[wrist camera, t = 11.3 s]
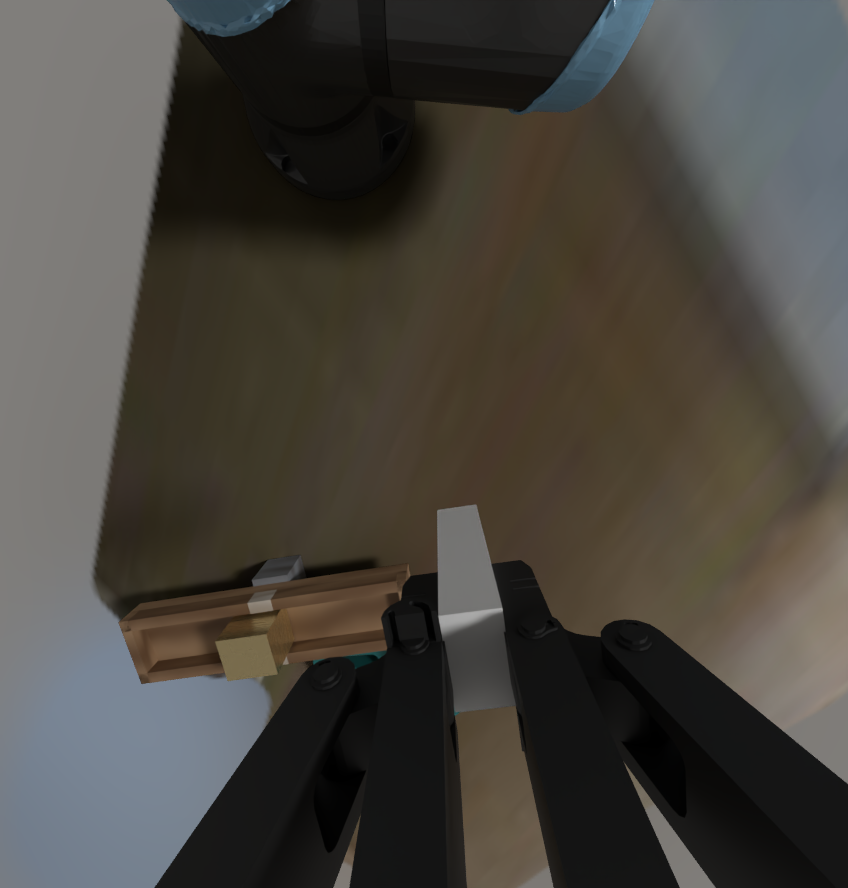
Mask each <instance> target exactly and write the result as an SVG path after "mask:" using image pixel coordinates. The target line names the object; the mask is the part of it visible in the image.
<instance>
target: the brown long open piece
mask: <svg viewBox="0 0 848 888" xmlns="http://www.w3.org/2000/svg"><path fill="white" fill-rule="evenodd" d="M409 577H410V571H409V566H408V563H405V564H399V565H392V566H386V567H379V568H372V569H366V570H359V571H352V572H346V573H339V574H332V575H326V576H319V577H313V578H306V574H305V570H304V566H303V563H302V559H301V555H296V556H290V557H283V558H277V559H270V560H267V561H266V563H265V564H264V565H263V567H262V568H261V569H260V570H259V572H258V573H257V574H256V575H255V577H254V578H253V579H252V583H253V587H246V588H240V589H233V590H226V591H220V592H213V593H206V594H200V595H193V596H187V597H180V598H173V599H167V600H160V601H153V602H147V603H140V604H139V605H138V606H137V607H136V608H134V609H133V610H132V611H131V612H130V613H129V614H127V615H126V616H125V617H124V618H123V619H122V620H121V621H119V625H120V628H121V630H122V633H123V636H124V638H125V641H126V644H127V646H128V649H129V652H130V654H131V657H132V660H133V662H134V665H135V668H136V670H137V673H138V675H139V678H140V681H141V684H145V683H152V682H159V681H167V680H174V679H181V678H188V677H196V676H203V675H210V674H218V673H225V671H224V668H223V665H222V662H221V658H220V655H219V652H218V649H217V646H216V643H215V641H216V640H217V638H218V637H219V636H220V634H221V633H222V632H223V630H224V629H225V628H226V626H227V625H228V624H229V622H230V621H231V620H232V618H233V617H234V616H238V615H245V614H254V613H261V612H268V611H273V610H279V609H287V613H288V617H289V620H290V624H291V627H292V631H293V635H294V638H295V640H294V642H293V644H292V646H291V648H290V650H289V652H288V654H287V656H286V658H285V661H284V663H283V665H285V664H290V663H297V662H305V661H312V660H319V659H326V658H330V657H341V656H348V655H355V654H363V653H370V652H377V651H384V650H387V645H386V640H385V636H384V631H383V626H382V621H381V617H382V614H383V612H384V611H385V610H386V609H387V608H388V607H389V606H390V605H392V604H394V603H396V602H398V601H400V600H401V594H402V587H403V585H404V583H405V582H406V581H407V580H408V578H409Z"/></svg>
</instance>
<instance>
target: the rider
mask: <svg viewBox="0 0 848 888" xmlns="http://www.w3.org/2000/svg"><path fill="white" fill-rule="evenodd" d="M294 640H295V638H294V635H293V631H292V627H291V624H290V620H289V617H288V613H287V609H279V610H273V611H268V612H261V613H254V614H245V615H238V616H234V617H233V618H232V620H231V621H230V622H229V624H228V625H227V626H226V628H225V629H224V630H223V632H222V633H221V634H220V636H219V637H218V638H217V640H216V641H215V643H216V646H217V649H218V652H219V655H220V658H221V662H222V665H223V668H224V671H225V674H226V677H227V680H228V681H231V680H239V679H247V678H254V677H261V676H268V675H276V674H278V673H279V671H280V669H281V667H282V665H283V663H284V661H285V658H286V656H287V654H288V652H289V650H290V648H291V646H292V644H293V642H294Z"/></svg>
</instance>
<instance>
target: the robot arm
mask: <svg viewBox="0 0 848 888" xmlns="http://www.w3.org/2000/svg"><path fill="white" fill-rule="evenodd" d="M167 1H168V2H169V3H170V4H171V5H172V6H173V8H174V10H175V11H176V13H177V14H178V15H179V16H180V17H181V18H182V19H183V20H184V21H185V22H186V24H187V25H188V26H189V27H190V29H191V30H192V31H193V32H194V34H195V35H196V36H197V37H198V39H199V40H200V41H201V42H202V44H203V45H204V46H205V47H206V49H207V50H208V51H209V52H210V54H211V55H212V56H213V57H214V59H215V60H216V61H217V62H218V64H219V65H220V66H221V67H222V69H223V70H224V71H225V72H226V74H227V75H228V76H229V77H230V79H231V80H232V81H233V82H234V84H235V85H236V86H237V87H238V89H239V90H240V91H241V92H242V94H243V99H244V103H245V108H246V113H247V117H248V121H249V124H250V127H251V130H252V132H253V134H254V137H255V139H256V141H257V143H258V145H259V146H260V148H261V150H262V151H263V153H264V154H265V156H266V157H267V159H268V160H269V161H270V162H271V163H272V165H273V166H274V167H275V168H276V169H277V170H278V171H279V173H280V174H281V175H282V176H283V177H284V178H285V179H286V180H288V181H289V182H290V183H291V184H293V185H294V186H295V187H297V188H299V189H300V190H302V191H304V192H306V193H308V194H311V195H313V196H316V197H320V198H325V199H334V200H340V199H349V198H354V197H358V196H360V195H363V194H365V193H368V192H370V191H371V190H373V189H375V188H376V187H378V186H379V185H381V184H382V183H383V182H384V181H385V180H386V179H388V178H389V176H390V175H391V174H392V173H393V172H394V171H395V170H396V168H397V167H398V165H399V164H400V162H401V161H402V159H403V157H404V155H405V153H406V151H407V149H408V146H409V143H410V140H411V137H412V133H413V128H414V121H415V100H418V101H429V102H440V103H451V104H462V105H473V106H484V107H495V108H506V109H509V111H510V112H511V113H513V114H518V115H522V114H525V113H530V112H532V111H539V112H569V111H572V110H574V109H576V108H578V107H581V106H582V105H584V104H586V103H588V102H589V101H591V100H592V99H593V98H594V97H595V96H596V95H597V94H598V93H599V92H600V91H601V90H602V89H603V88H604V87H605V85H606V84H607V83H608V82H609V80H610V79H611V78H612V76H613V75H614V74H615V72H616V71H617V69H618V68H619V66H620V65H621V63H622V61H623V60H624V58H625V56H626V55H627V53H628V51H629V50H630V48H631V46H632V44H633V42H634V41H635V39H636V37H637V35H638V33H639V31H640V29H641V27H642V25H643V23H644V21H645V19H646V17H647V15H648V13H649V11H650V9H651V7H652V5H653V3H654V0H167ZM437 528H438V572H437V573H429V574H422V575H414V576H410V577H409V578H408V580H407V581H406V582H405V583H404V585H403V587H402V594H401V600H400V601H398V602H396V603H394V604H392V605H390V606H389V607H388V608H387V609H386V610H385V611H384V612H383V614H382V617H381V621H382V626H383V631H384V636H385V640H386V645H387V652H386V654H385V655H384V656H382V657H381V658H379V659H378V660H376V661H373V662H371V663H369V664H366V665H364V666H361V667H358V668H356V669H355V666H354V663H353V662H352V661H350V660H349V659H348V658H344V657H330V658H327V659H324V660H321V661H318V662H317V663H315V664H314V665H312V666H311V667H309V668H308V669H307V670H306V671H305V672H304V673H303V674H302V675H301V677H300V678H299V680H298V681H297V683H296V684H295V685H294V687H293V688H292V690H291V691H290V693H289V694H288V696H287V697H286V698H285V700H284V701H283V703H282V704H281V706H280V707H279V709H278V710H277V711H276V713H275V714H274V716H273V717H272V719H271V720H270V722H269V723H268V724H267V726H266V727H265V729H264V730H263V732H262V733H261V735H260V736H259V737H258V739H257V741H256V742H255V743H254V745H253V746H252V748H251V749H250V750H249V752H248V753H247V755H246V756H245V758H244V759H243V761H242V762H241V763H240V765H239V766H238V768H237V769H236V771H235V772H234V774H233V775H232V776H231V778H230V779H229V781H228V782H227V784H226V785H225V787H224V788H223V790H222V791H221V792H220V794H219V795H218V797H217V798H216V800H215V801H214V803H213V804H212V805H211V807H210V808H209V810H208V811H207V813H206V814H205V815H204V817H203V818H202V820H201V821H200V823H199V824H198V826H197V827H196V829H195V830H194V831H193V833H192V834H191V836H190V837H189V839H188V840H187V842H186V843H185V844H184V846H183V847H182V849H181V850H180V852H179V853H178V854H177V856H176V858H175V859H174V861H173V862H172V863H171V865H170V866H169V868H168V869H167V870H166V872H165V873H164V875H163V876H162V878H161V879H160V881H159V882H158V883H157V885H156V886H155V888H333V887H334V884H335V881H336V878H337V876H338V873H339V871H340V868H341V865H342V863H343V860H344V857H345V855H346V852H347V849H348V847H349V844H350V841H351V839H352V836H353V833H354V830H355V828H356V825H357V822H358V820H359V817H360V814H361V817H360V824H359V830H358V836H357V843H356V849H355V855H354V862H353V868H352V875H351V881H350V887H349V888H467V882H466V866H465V849H464V832H463V815H462V798H461V782H460V765H459V748H458V732H457V726H456V720H455V715H454V708H455V712H464V711H473V710H482V709H491V708H500V707H509V706H516V709H517V716H518V724H519V731H520V738H521V746H522V751H524V752H525V757H526V761H527V766H528V771H529V775H530V780H531V784H532V789H533V794H534V798H535V803H536V808H537V812H538V817H539V822H540V826H541V831H542V835H543V840H544V845H545V849H546V854H547V859H548V863H549V868H550V872H551V877H552V882H553V887H554V888H680V887H679V885H678V883H677V881H676V878H675V876H674V874H673V872H672V870H671V867H670V865H669V863H668V861H667V858H666V856H665V854H664V851H663V850H662V847H661V845H660V843H659V840H658V838H657V836H656V834H655V832H654V829H653V827H652V825H651V823H650V820H649V818H648V816H647V814H646V811H645V809H644V807H643V805H642V802H641V800H640V798H639V796H638V793H637V791H636V789H635V787H634V784H633V782H632V780H631V778H630V776H629V773H628V771H627V769H626V767H625V764H626V765H627V767H628V768H629V769H630V771H631V772H632V773H633V775H634V776H635V778H636V779H637V780H638V782H639V783H640V784H641V786H642V787H643V789H644V790H645V791H646V793H647V794H648V795H649V797H650V798H651V800H652V801H653V802H654V804H655V805H656V806H657V808H658V809H659V810H660V812H661V813H662V814H663V816H664V817H665V818H666V820H667V821H668V823H669V824H670V826H671V827H672V828H673V830H674V831H675V832H676V834H677V835H678V837H679V838H680V839H681V841H682V842H683V843H684V845H685V846H686V847H687V849H688V850H689V852H690V853H691V854H692V856H693V857H694V858H695V860H696V861H697V863H698V864H699V865H700V867H701V868H702V869H703V871H704V872H705V873H706V875H707V876H708V878H709V879H710V880H711V882H712V883H713V884H714V886H715V887H716V888H848V784H847V783H846V782H844V781H843V780H842V779H841V778H840V777H838V776H837V775H836V774H835V773H833V772H832V771H831V770H830V769H829V768H827V767H826V766H825V765H824V764H822V763H821V762H820V761H819V760H818V759H816V758H815V757H814V756H813V755H811V754H810V753H809V752H808V751H807V750H805V749H804V748H803V747H802V746H800V745H799V744H798V743H796V742H795V741H794V740H793V739H792V738H791V737H789V736H788V735H787V734H786V733H785V732H783V731H782V730H781V729H780V728H778V727H777V726H776V725H775V724H774V723H772V722H771V721H770V720H769V719H767V718H766V717H765V716H764V715H763V714H761V713H760V712H759V711H758V710H756V709H755V708H754V707H753V706H752V705H750V704H749V703H748V702H747V701H745V700H744V699H743V698H742V697H741V696H739V695H738V694H737V693H736V692H734V691H733V690H732V689H731V688H730V687H728V686H727V685H726V684H725V683H723V682H722V681H721V680H720V679H719V678H717V677H716V676H715V675H714V674H712V673H711V672H710V671H709V670H708V669H706V668H705V667H704V666H703V665H701V664H700V663H699V662H698V661H697V660H695V659H694V658H693V657H692V656H690V655H689V654H688V653H687V652H686V651H684V650H683V649H682V648H681V647H679V646H678V645H677V644H676V643H675V642H673V641H672V640H671V639H670V638H668V637H667V636H666V635H665V634H664V633H662V632H661V631H660V630H658V629H656V628H655V627H653V626H652V625H650V624H647V623H644V622H640V621H637V620H618V621H613V622H611V623H609V624H607V625H605V627H604V628H603V629H602V631H601V637H595V636H586V635H580V634H575V633H573V632H570V631H567V630H565V629H564V628H563V626H562V625H561V623H560V622H559V621H558V620H557V619H556V618H554V617H552V615H551V613H550V611H549V608H548V606H547V604H546V601H545V599H544V597H543V594H542V592H541V590H540V587H539V585H538V583H537V580H536V579H535V576H534V573H533V571H532V569H531V567H530V566H528V565H527V564H525V563H524V562H523V561H521V560H518V561H510V562H503V563H495V564H491V561H490V557H489V553H488V549H487V545H486V541H485V537H484V533H483V530H482V526H481V522H480V518H479V514H478V510H477V506H476V505H470V506H463V507H456V508H449V509H442V510H437ZM623 761H624V762H623ZM624 763H625V764H624Z"/></svg>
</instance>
